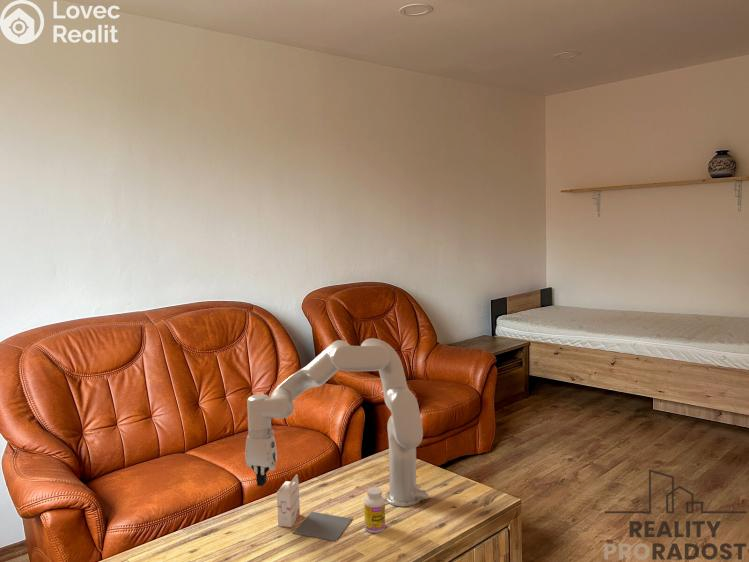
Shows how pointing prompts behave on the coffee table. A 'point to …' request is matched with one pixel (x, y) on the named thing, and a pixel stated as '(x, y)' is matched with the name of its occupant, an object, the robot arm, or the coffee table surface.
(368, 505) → the supplement bottle
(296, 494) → the ink cartridge box
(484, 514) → the coffee table surface
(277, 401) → the robot arm
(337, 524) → the mat
